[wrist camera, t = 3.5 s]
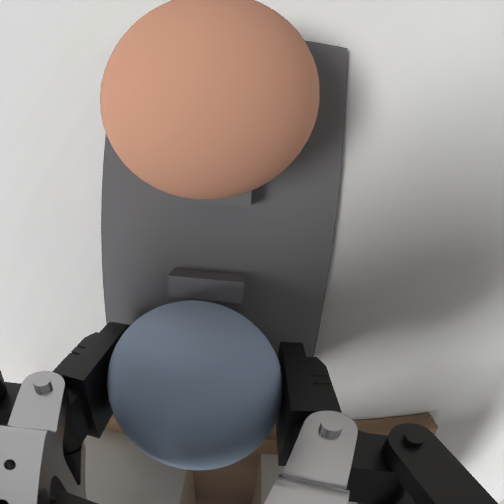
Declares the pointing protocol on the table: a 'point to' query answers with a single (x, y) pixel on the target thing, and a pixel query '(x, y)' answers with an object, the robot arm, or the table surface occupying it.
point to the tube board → (245, 470)
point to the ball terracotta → (209, 97)
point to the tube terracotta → (132, 474)
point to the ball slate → (195, 385)
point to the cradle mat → (233, 233)
